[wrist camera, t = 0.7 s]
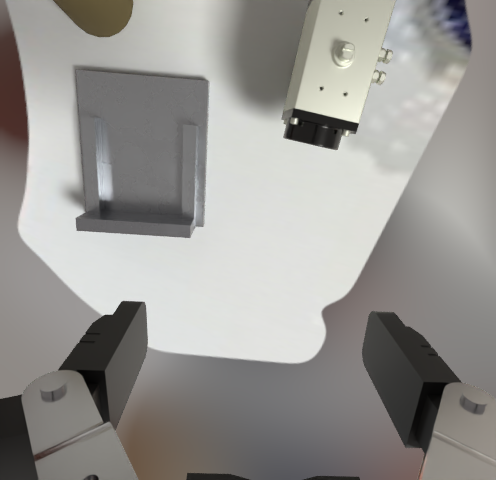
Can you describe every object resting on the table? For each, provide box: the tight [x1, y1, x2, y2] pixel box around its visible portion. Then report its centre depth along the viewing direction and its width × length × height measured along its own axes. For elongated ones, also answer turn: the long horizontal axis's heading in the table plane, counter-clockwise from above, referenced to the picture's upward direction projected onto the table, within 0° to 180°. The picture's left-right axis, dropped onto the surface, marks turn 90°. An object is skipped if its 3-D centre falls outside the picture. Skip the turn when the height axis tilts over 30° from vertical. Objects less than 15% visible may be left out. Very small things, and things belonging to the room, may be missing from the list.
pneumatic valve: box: [281, 0, 396, 150], centre depth 27 cm, size 6×12×12 cm, turn 168°
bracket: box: [76, 70, 209, 238], centre depth 32 cm, size 14×12×5 cm
